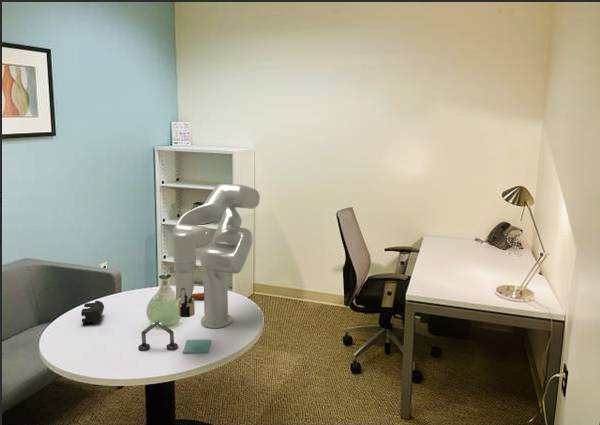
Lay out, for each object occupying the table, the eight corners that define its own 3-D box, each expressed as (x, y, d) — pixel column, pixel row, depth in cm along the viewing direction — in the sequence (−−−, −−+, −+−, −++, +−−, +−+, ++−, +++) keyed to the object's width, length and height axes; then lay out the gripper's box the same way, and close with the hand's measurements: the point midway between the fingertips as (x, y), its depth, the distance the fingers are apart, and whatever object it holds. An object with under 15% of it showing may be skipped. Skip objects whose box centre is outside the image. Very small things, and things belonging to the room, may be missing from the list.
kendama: (205, 294, 214) (158, 293, 210) (204, 305, 216) (158, 305, 212) (205, 287, 219) (160, 286, 215) (204, 298, 222) (159, 297, 217)
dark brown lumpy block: (101, 325, 191) (100, 309, 189) (82, 326, 189) (80, 311, 188) (104, 314, 200) (103, 299, 199) (86, 316, 199) (85, 301, 197)
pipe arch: (140, 345, 175) (138, 318, 173) (178, 344, 176) (177, 317, 174) (137, 351, 171) (135, 323, 169) (176, 350, 172) (175, 322, 170)
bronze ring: (181, 311, 174) (180, 298, 173) (195, 311, 174) (194, 298, 173) (178, 317, 169) (177, 304, 168) (192, 317, 169) (192, 304, 168)
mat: (186, 341, 179) (186, 340, 179) (210, 341, 180) (210, 339, 179) (182, 353, 170) (182, 352, 170) (208, 353, 171) (208, 351, 171)
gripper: (179, 257, 176) (181, 303, 180) (168, 273, 159) (171, 323, 163) (199, 257, 176) (201, 303, 180) (191, 273, 160) (193, 323, 164)
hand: (186, 312), depth 172 cm, fingers closed on bronze ring, 5 cm apart
